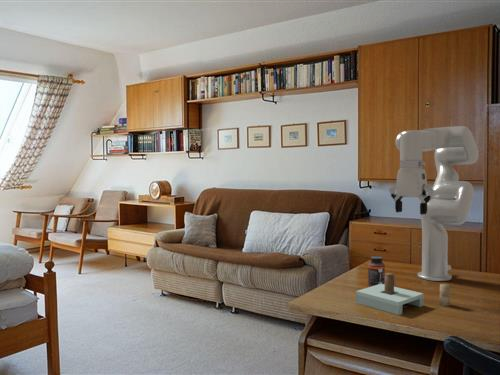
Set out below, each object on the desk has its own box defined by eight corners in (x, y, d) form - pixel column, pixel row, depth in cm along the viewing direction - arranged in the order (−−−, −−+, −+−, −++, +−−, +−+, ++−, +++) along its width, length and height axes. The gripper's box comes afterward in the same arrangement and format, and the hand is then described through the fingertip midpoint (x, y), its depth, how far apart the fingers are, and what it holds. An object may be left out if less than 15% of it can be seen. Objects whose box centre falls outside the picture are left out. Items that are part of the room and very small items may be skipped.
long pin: (387, 302, 149) (388, 272, 149) (395, 304, 147) (396, 274, 146) (382, 303, 147) (382, 273, 147) (390, 306, 145) (390, 275, 144)
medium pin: (442, 302, 148) (442, 283, 147) (451, 304, 145) (451, 285, 145) (437, 304, 146) (437, 285, 146) (446, 306, 144) (446, 286, 143)
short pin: (387, 290, 163) (388, 276, 163) (396, 291, 162) (396, 277, 162) (386, 291, 161) (386, 277, 161) (394, 292, 159) (394, 278, 159)
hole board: (381, 294, 158) (381, 283, 157) (423, 305, 145) (423, 293, 145) (356, 302, 149) (356, 291, 149) (398, 315, 136) (398, 302, 136)
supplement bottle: (385, 289, 164) (385, 259, 163) (368, 289, 165) (368, 258, 164) (383, 285, 170) (383, 255, 169) (367, 284, 171) (367, 255, 170)
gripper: (439, 165, 155) (439, 214, 156) (395, 165, 169) (395, 210, 169) (428, 165, 150) (427, 216, 151) (384, 165, 164) (383, 212, 165)
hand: (410, 213), depth 160 cm, fingers open, 9 cm apart
